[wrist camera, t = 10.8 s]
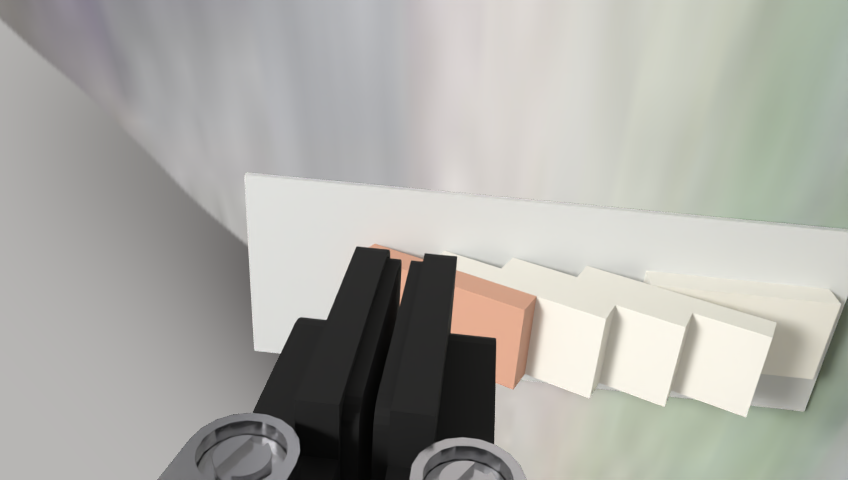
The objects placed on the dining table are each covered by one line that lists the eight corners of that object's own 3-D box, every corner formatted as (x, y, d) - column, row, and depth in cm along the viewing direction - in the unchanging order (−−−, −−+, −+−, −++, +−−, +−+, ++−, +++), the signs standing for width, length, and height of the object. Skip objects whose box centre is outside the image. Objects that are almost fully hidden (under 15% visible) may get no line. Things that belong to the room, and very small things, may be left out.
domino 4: (586, 265, 41) (776, 322, 37) (573, 338, 43) (750, 400, 39) (577, 277, 40) (772, 337, 36) (563, 352, 42) (745, 417, 38)
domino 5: (646, 270, 41) (829, 288, 40) (629, 344, 43) (802, 362, 42) (651, 284, 39) (841, 304, 39) (633, 360, 42) (812, 379, 41)
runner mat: (868, 231, 39) (871, 234, 39) (801, 407, 44) (804, 411, 44) (246, 172, 41) (244, 174, 41) (256, 346, 47) (254, 350, 46)
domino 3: (513, 257, 41) (692, 312, 37) (503, 330, 44) (671, 390, 39) (501, 268, 40) (685, 327, 36) (492, 343, 42) (664, 406, 38)
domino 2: (444, 250, 42) (615, 304, 37) (438, 323, 44) (598, 382, 40) (431, 261, 40) (605, 319, 36) (425, 336, 43) (589, 398, 38)
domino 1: (374, 243, 42) (536, 296, 38) (372, 316, 44) (524, 373, 40) (358, 254, 41) (524, 309, 36) (357, 328, 43) (513, 389, 39)
